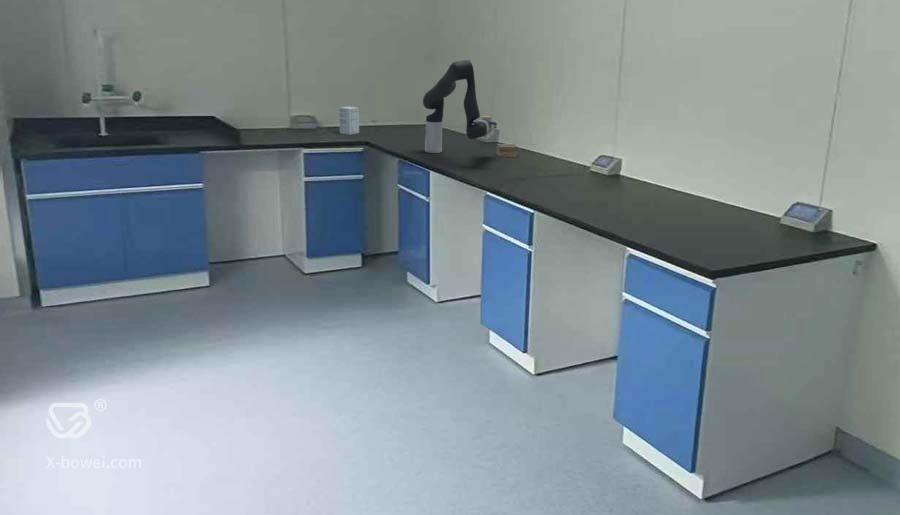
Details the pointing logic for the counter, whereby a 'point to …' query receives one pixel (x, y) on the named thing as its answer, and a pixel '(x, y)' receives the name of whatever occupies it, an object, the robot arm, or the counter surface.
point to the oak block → (488, 120)
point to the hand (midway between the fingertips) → (487, 122)
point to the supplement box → (349, 120)
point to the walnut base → (507, 150)
